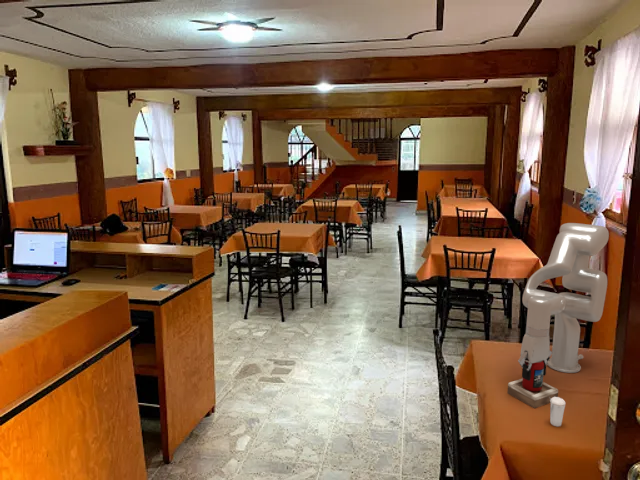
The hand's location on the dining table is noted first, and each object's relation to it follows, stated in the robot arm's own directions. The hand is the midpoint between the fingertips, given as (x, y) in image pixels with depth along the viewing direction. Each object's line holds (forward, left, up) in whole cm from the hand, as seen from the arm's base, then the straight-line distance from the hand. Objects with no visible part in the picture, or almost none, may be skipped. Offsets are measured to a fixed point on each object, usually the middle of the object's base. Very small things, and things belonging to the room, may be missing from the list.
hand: (533, 376), depth 178 cm
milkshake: (+8, +16, -8) cm, 20 cm away
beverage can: (0, 0, -5) cm, 5 cm away
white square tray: (0, 0, -8) cm, 8 cm away
